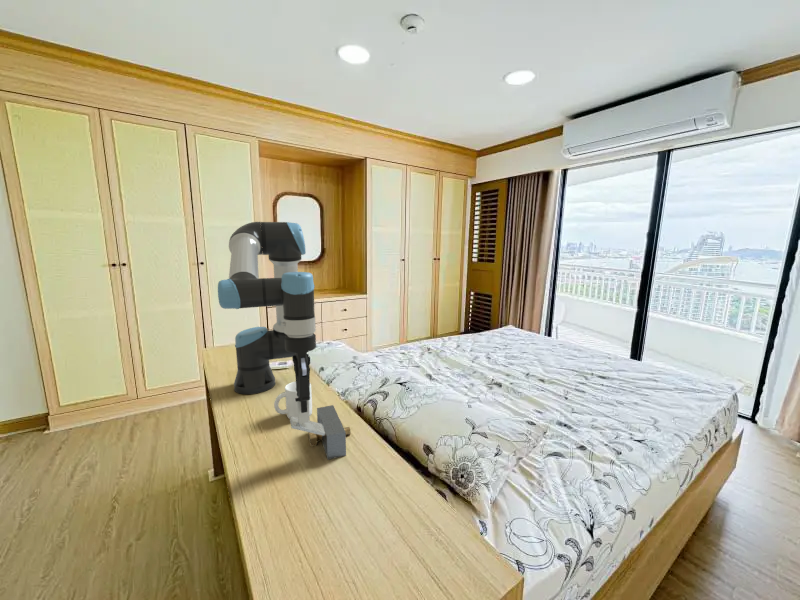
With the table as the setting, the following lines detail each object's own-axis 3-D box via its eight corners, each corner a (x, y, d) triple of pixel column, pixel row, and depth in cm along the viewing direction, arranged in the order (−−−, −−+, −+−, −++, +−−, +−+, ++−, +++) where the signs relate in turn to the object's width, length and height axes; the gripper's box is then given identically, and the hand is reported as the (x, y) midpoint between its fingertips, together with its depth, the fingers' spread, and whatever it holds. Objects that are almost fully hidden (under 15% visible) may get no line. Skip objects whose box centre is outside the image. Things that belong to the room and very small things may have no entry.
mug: (277, 426, 104) (275, 396, 103) (273, 415, 111) (271, 386, 110) (315, 417, 110) (314, 387, 108) (308, 406, 117) (307, 378, 116)
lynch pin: (310, 446, 95) (310, 438, 94) (308, 438, 98) (308, 431, 98) (351, 437, 99) (351, 430, 99) (348, 430, 103) (348, 423, 102)
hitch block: (317, 429, 103) (316, 408, 102) (333, 425, 105) (333, 405, 104) (327, 459, 89) (326, 435, 87) (346, 455, 91) (345, 431, 89)
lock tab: (289, 418, 88) (290, 416, 88) (320, 426, 92) (321, 423, 92) (291, 428, 84) (292, 425, 84) (324, 435, 88) (325, 433, 88)
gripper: (282, 329, 88) (286, 412, 92) (286, 342, 76) (291, 437, 80) (311, 326, 91) (314, 407, 94) (319, 339, 79) (322, 431, 82)
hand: (304, 421), depth 87 cm, fingers closed
